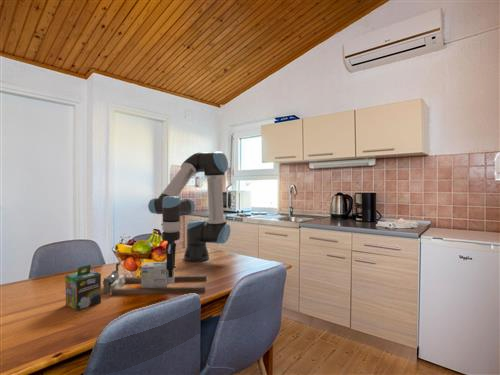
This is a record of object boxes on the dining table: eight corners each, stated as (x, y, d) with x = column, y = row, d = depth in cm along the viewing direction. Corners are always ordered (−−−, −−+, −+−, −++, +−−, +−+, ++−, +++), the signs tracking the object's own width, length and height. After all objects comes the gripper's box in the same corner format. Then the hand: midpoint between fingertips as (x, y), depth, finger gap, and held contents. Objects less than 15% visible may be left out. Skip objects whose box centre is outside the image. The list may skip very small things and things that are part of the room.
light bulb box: (167, 284, 131) (167, 261, 131) (166, 290, 124) (166, 265, 124) (142, 286, 129) (143, 262, 128) (140, 291, 122) (140, 266, 122)
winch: (115, 280, 136) (115, 262, 136) (123, 280, 136) (123, 262, 136) (101, 293, 120) (101, 272, 120) (110, 292, 120) (110, 272, 120)
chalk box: (89, 297, 116) (89, 260, 116) (101, 302, 111) (101, 264, 110) (64, 305, 108) (64, 266, 108) (76, 311, 103) (76, 270, 103)
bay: (123, 281, 134) (123, 273, 134) (206, 279, 138) (206, 271, 138) (110, 295, 118) (110, 285, 118) (205, 292, 123) (205, 282, 122)
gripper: (165, 228, 134) (164, 278, 135) (159, 233, 121) (159, 289, 122) (181, 228, 135) (181, 278, 136) (177, 233, 122) (177, 288, 123)
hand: (170, 283), depth 129 cm, fingers closed
